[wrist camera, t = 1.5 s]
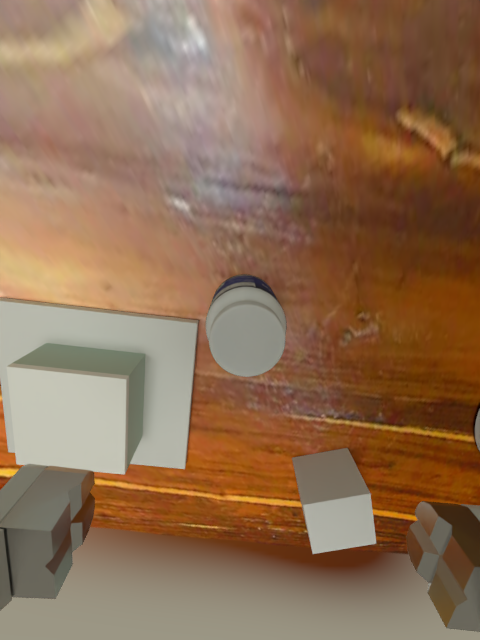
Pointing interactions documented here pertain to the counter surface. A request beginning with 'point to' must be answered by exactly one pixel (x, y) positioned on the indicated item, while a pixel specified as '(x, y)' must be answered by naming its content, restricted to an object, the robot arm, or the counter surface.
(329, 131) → the counter surface
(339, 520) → the gray rectangular block
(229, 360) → the pill bottle
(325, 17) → the counter surface
